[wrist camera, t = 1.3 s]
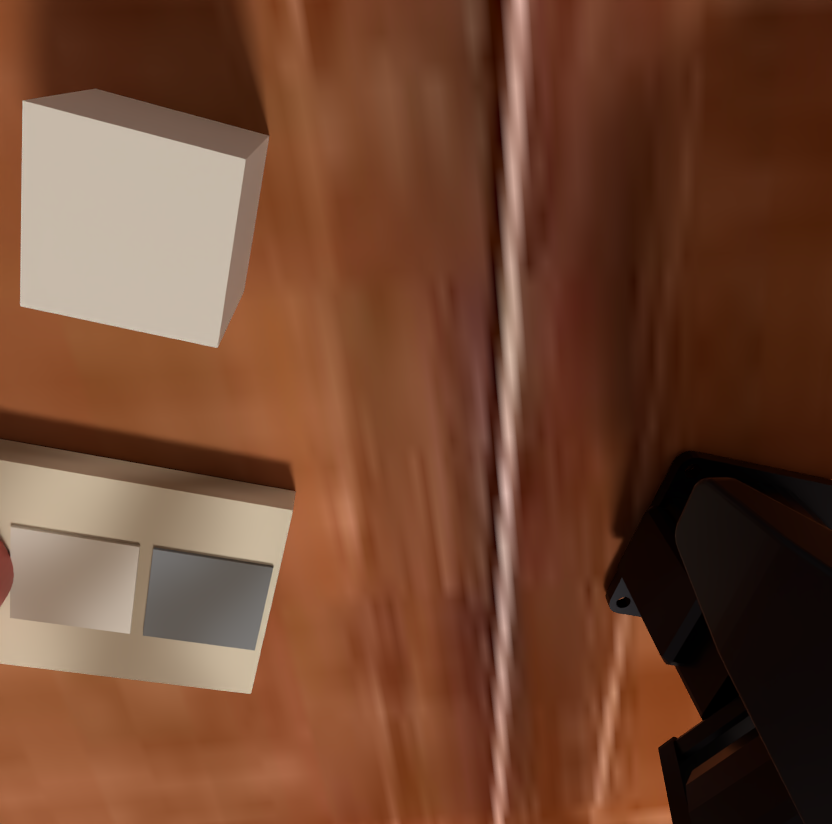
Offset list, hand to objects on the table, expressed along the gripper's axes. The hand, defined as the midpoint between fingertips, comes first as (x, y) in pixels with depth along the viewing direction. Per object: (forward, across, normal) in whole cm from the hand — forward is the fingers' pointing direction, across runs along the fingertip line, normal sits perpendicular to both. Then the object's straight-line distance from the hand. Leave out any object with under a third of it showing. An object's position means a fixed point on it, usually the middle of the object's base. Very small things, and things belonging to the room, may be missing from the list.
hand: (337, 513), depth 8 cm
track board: (+12, +10, +11) cm, 19 cm away
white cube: (+12, +3, 0) cm, 13 cm away
